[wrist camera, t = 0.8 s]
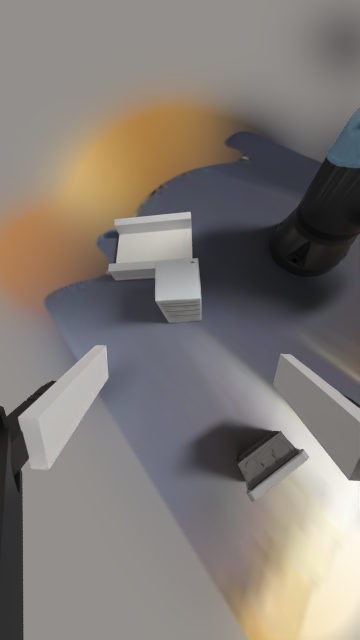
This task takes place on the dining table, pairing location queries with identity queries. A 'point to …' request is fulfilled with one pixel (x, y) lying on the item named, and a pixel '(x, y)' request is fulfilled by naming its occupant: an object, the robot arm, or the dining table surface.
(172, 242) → the tray
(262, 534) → the dining table surface
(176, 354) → the dining table surface
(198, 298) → the supplement box
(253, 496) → the electrical switch
